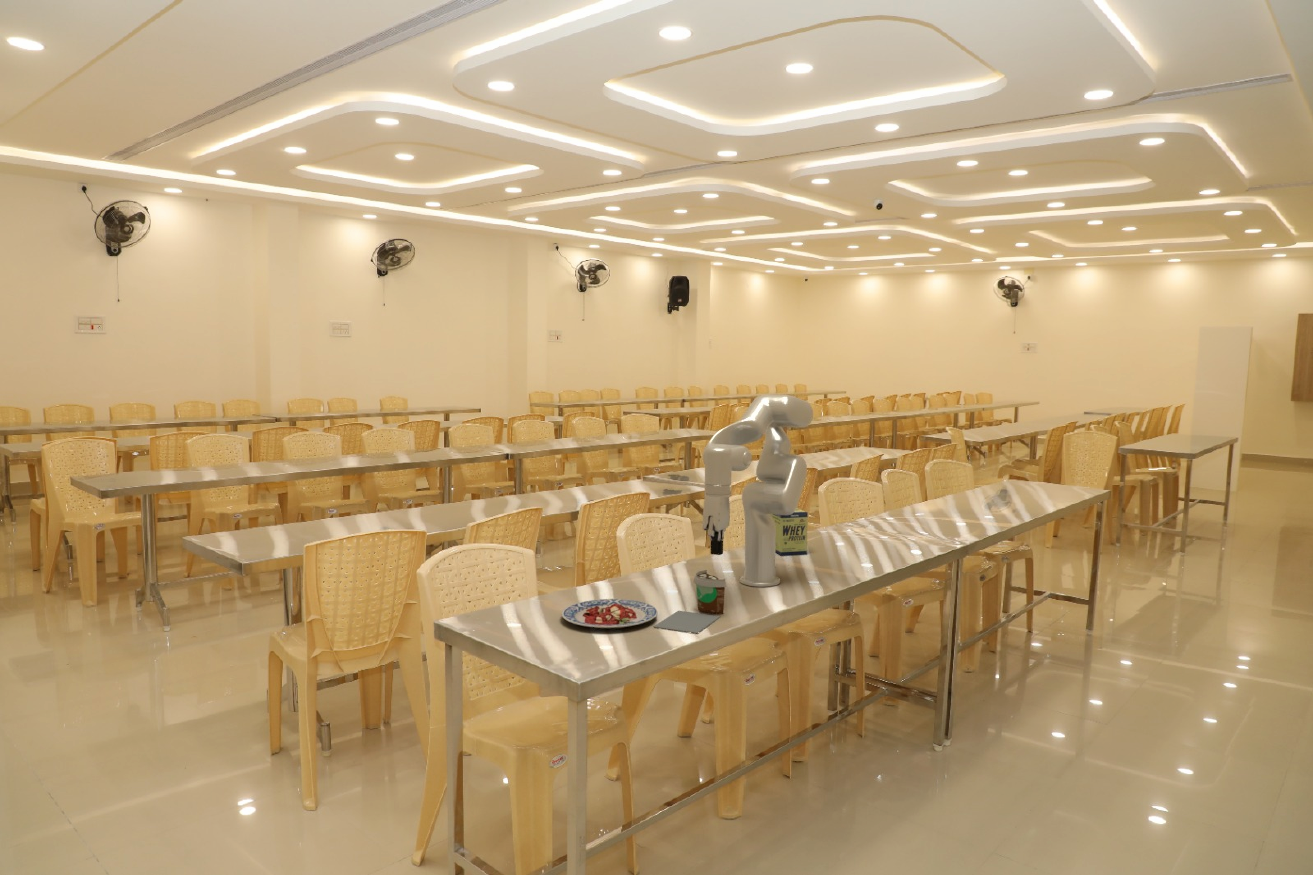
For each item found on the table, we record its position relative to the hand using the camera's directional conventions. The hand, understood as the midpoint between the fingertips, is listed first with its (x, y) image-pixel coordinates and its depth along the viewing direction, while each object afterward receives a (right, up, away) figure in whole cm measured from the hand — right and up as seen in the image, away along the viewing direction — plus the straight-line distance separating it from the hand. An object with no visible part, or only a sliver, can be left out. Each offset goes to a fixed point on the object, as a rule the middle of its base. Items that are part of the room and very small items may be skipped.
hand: (716, 554), depth 244 cm
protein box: (+30, -9, +69) cm, 76 cm away
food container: (-3, -15, -6) cm, 17 cm away
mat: (-9, -16, -17) cm, 25 cm away
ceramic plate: (-30, -16, -13) cm, 37 cm away
